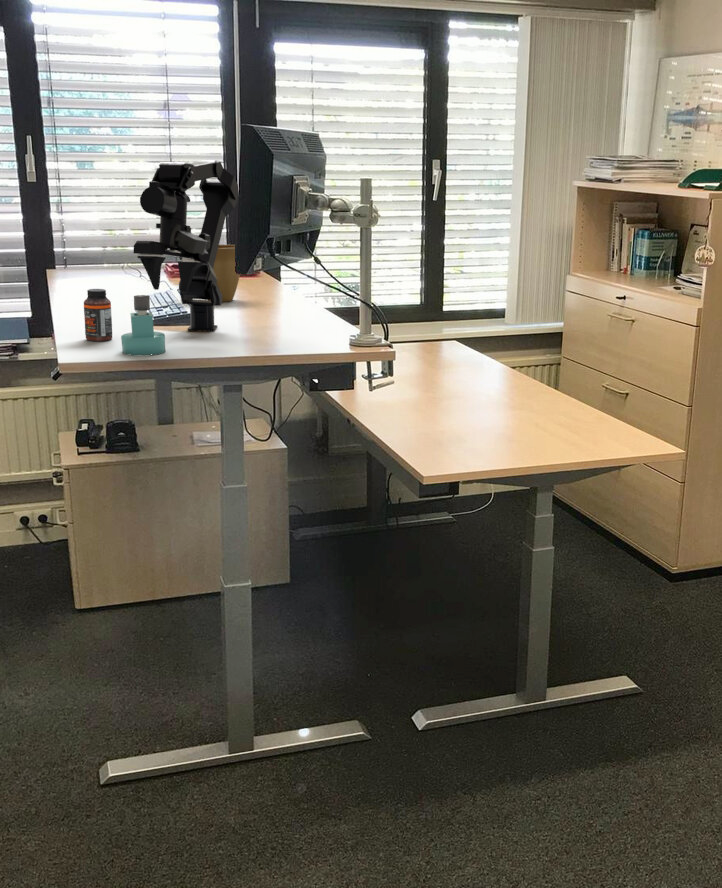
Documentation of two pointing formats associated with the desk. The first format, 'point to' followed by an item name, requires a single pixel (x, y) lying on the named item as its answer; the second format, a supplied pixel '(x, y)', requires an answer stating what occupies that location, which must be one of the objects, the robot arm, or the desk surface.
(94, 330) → the supplement bottle
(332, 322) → the desk surface
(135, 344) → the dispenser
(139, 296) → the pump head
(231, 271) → the plant pot
